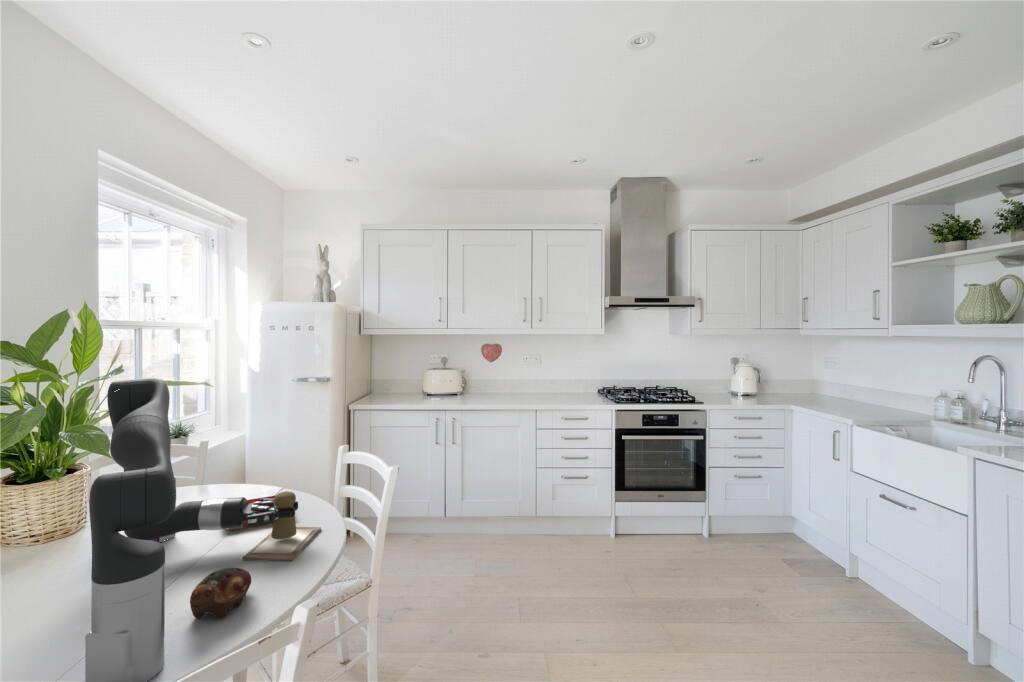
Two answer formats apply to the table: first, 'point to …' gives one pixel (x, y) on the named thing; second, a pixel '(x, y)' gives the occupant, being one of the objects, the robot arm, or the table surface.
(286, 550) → the brown picture frame
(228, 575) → the brown lumpy oval piece
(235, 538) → the table surface
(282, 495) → the cork
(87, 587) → the table surface
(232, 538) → the table surface
